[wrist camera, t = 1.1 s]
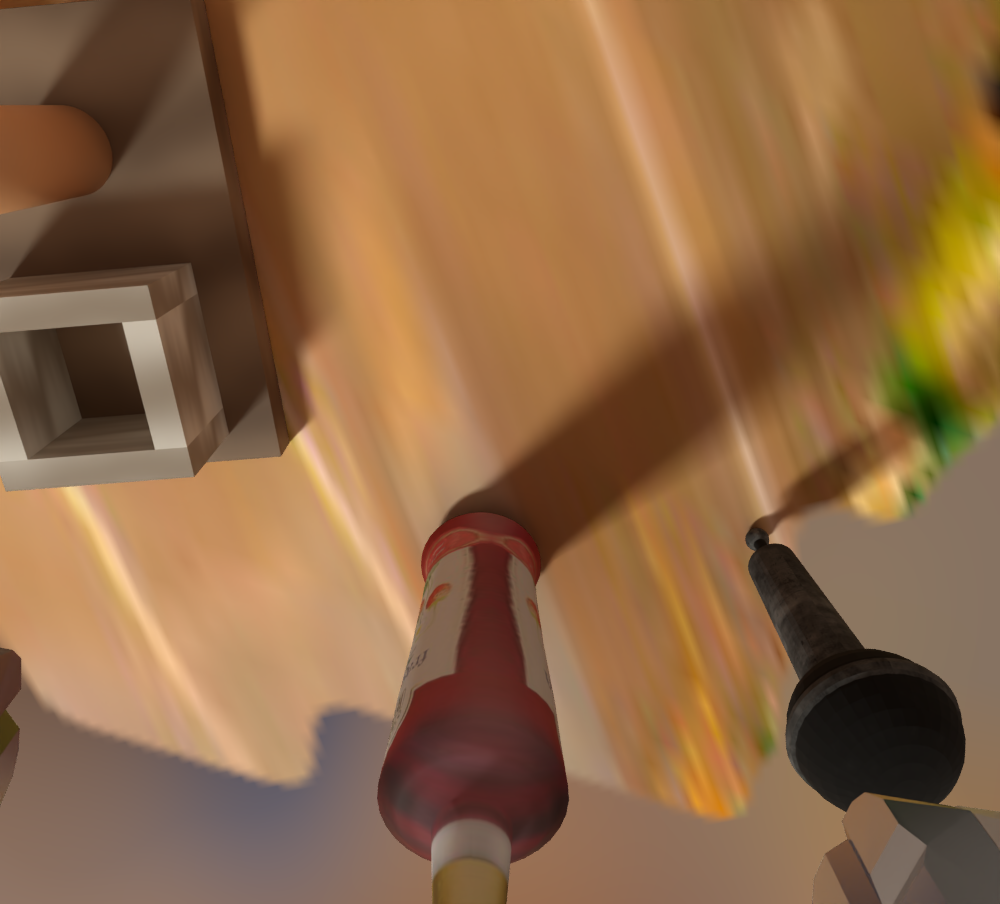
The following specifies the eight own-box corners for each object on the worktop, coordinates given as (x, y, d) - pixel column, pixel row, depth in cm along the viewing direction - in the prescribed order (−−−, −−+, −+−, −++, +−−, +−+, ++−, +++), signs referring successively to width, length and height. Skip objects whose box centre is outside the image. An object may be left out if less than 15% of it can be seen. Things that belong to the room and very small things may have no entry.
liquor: (431, 487, 48) (354, 940, 22) (556, 511, 48) (624, 979, 23) (409, 595, 51) (318, 1111, 25) (528, 617, 51) (560, 1141, 25)
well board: (-97, 24, 39) (-226, 7, 32) (203, -4, 38) (138, -27, 31) (42, 461, 47) (-36, 523, 40) (289, 442, 47) (253, 501, 40)
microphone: (818, 571, 50) (1007, 845, 32) (704, 595, 51) (823, 877, 32) (806, 468, 47) (1004, 701, 29) (686, 495, 48) (804, 740, 30)
